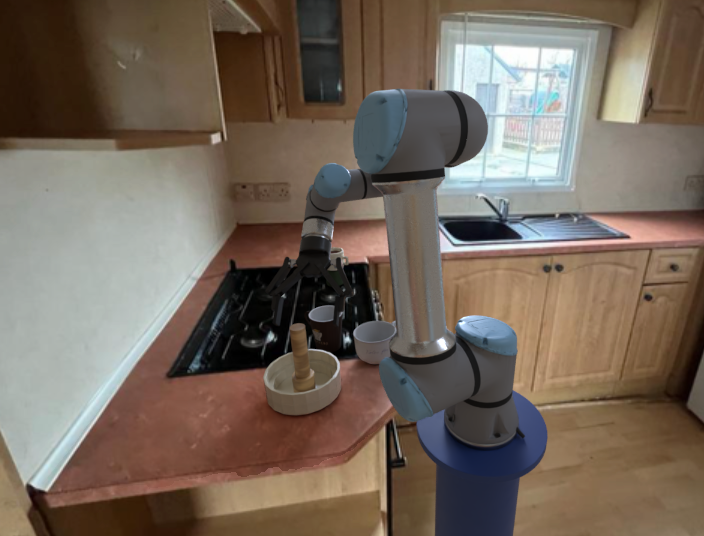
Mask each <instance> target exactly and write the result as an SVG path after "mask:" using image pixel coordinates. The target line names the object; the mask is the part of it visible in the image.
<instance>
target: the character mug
mask: <svg viewBox="0 0 704 536" xmlns="http://www.w3.org/2000/svg"><path fill="white" fill-rule="evenodd" d="M337 257H340V258H341V260H342V262H343V268H344V267H345V266H349V256H347V255H345V252H344V249H343V248H342V247H337V246H333V247H332V246H331V255H330V260H333V259H336V258H337ZM327 271H328V273H329V274H330V275H331V277H332V278H333V279H334V280H335V282H336V283H337V284H338V285H339V287H341V286H342V285H344V284H343V281H342V279H341V277H340V275H339V272H338V270H337V268H334V266H333V265H331V266H330V267H329V269H328V270H327ZM326 286H329V287H331V288H333V287H332V286H331V285H330V283H329V282H328V281H327V280H326Z"/></svg>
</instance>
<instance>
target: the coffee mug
mask: <svg viewBox="0 0 704 536" xmlns="http://www.w3.org/2000/svg"><path fill="white" fill-rule="evenodd" d="M334 306H335V305H322V306H318V307H316V308H313V309H311V310H307V311H305V312H304V319H305V322H306V323H307V324H308V326H309V327H310V328H311V331H312V335H313V339H314V343H315V348H316V349H317V350H323V351H326V352H330V353H331V354H333V353H335V352H337V351H338V350H339V349H340V348H341V346H342V334H343V333H342V328H343V313H344V312H340V315H339V326H338V327H335V326H334V325H333V316H334Z"/></svg>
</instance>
